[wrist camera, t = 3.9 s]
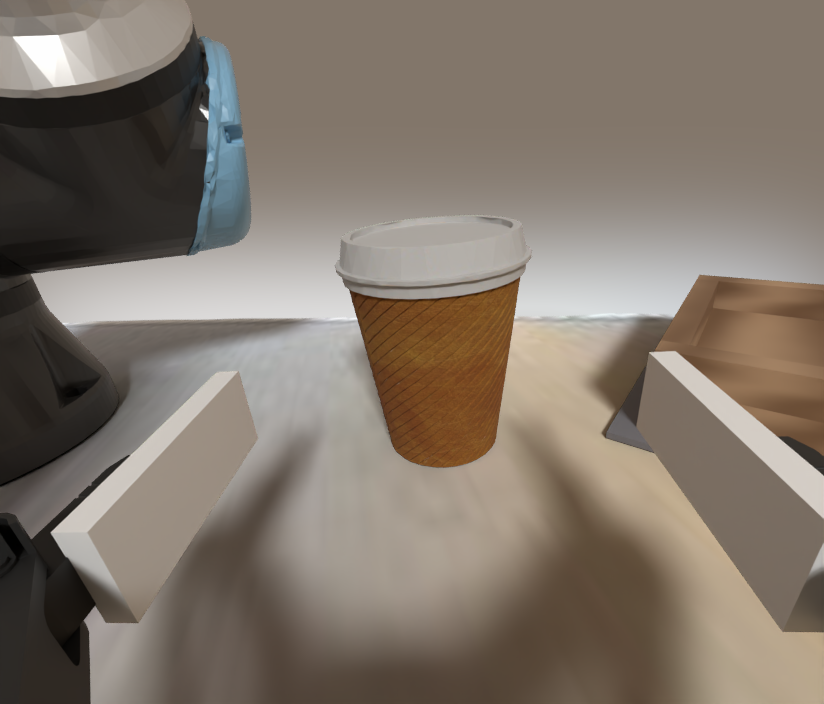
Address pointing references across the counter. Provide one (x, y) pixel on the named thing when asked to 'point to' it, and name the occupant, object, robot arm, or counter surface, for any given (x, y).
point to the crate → (758, 349)
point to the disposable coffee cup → (437, 326)
